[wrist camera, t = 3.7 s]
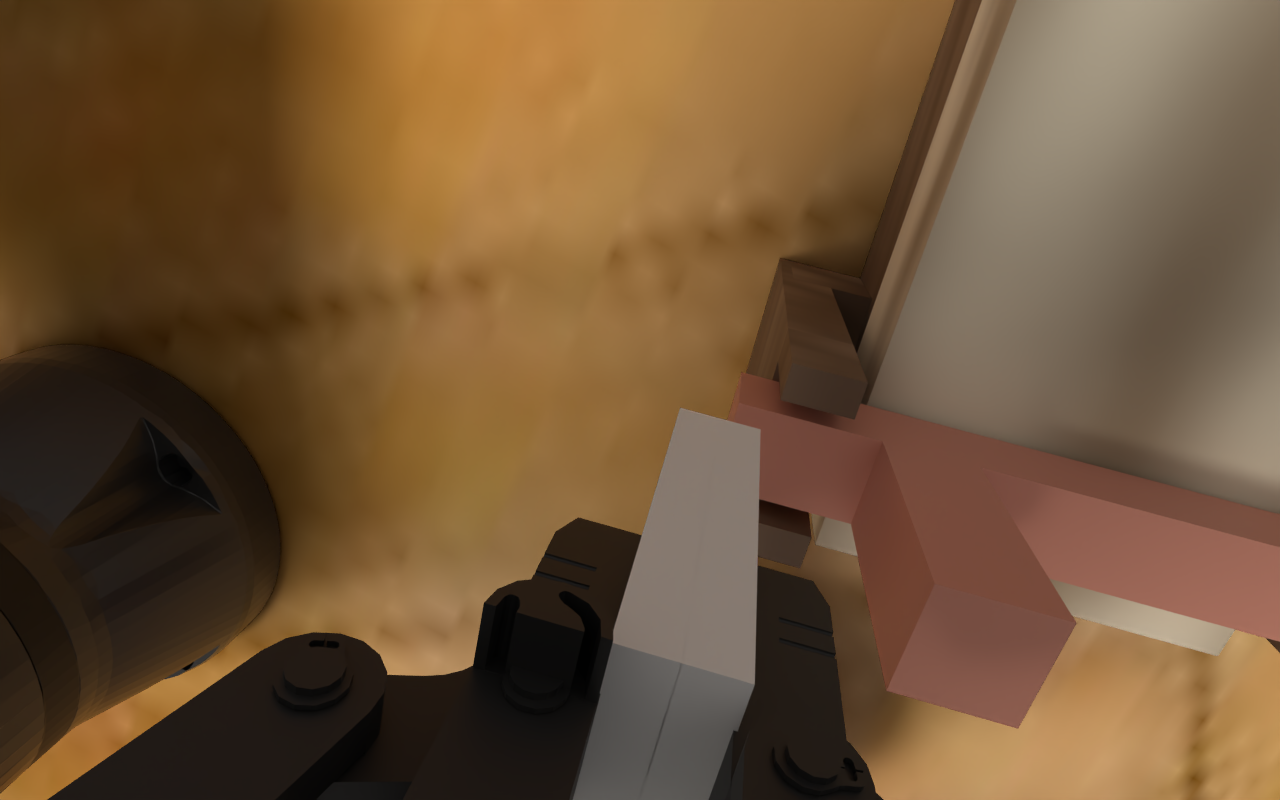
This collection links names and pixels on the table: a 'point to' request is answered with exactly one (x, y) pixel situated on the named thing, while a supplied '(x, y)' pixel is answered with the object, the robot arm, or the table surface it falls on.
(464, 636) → the table surface
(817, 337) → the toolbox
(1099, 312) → the lid
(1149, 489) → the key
